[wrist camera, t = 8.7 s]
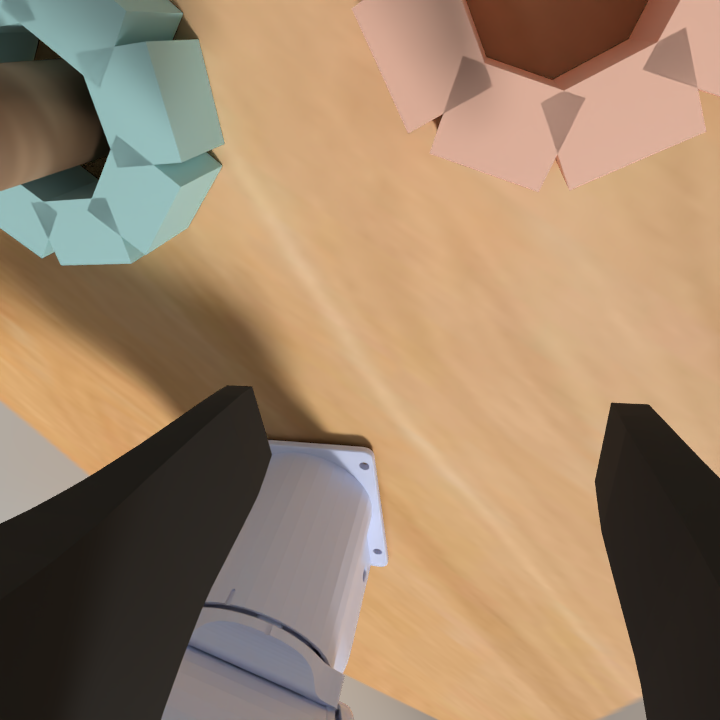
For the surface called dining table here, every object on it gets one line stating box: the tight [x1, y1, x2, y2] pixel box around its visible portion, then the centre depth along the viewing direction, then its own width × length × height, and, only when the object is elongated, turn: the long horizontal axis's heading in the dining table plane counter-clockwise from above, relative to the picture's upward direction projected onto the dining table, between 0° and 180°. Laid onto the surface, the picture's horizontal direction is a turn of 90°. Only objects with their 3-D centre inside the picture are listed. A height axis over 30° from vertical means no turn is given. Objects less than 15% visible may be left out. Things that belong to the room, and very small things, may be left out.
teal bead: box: [0, 0, 224, 265], centre depth 17 cm, size 10×10×3 cm
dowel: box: [0, 58, 111, 191], centre depth 15 cm, size 3×3×8 cm
